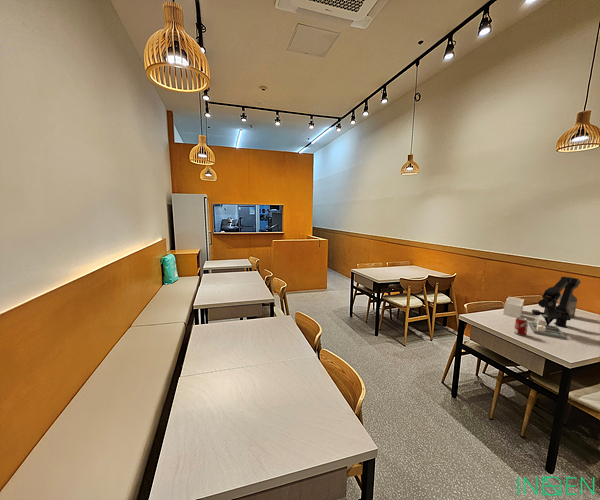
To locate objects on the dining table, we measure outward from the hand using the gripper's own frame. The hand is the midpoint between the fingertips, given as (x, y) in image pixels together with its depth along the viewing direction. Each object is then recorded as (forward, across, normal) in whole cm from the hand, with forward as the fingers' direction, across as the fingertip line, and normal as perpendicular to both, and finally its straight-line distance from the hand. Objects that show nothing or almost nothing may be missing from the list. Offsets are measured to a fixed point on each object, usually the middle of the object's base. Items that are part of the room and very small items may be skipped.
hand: (547, 325), depth 186 cm
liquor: (+3, +21, +45) cm, 50 cm away
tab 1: (+2, -3, 0) cm, 4 cm away
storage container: (+4, -16, +28) cm, 33 cm away
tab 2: (+2, -6, -12) cm, 13 cm away
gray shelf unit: (+3, -2, -6) cm, 7 cm away
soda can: (+3, -19, -23) cm, 30 cm away
